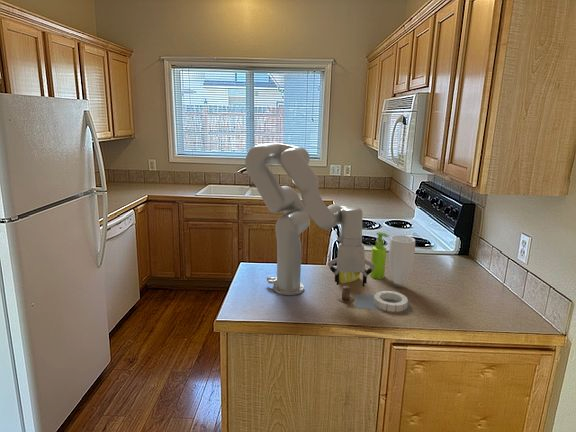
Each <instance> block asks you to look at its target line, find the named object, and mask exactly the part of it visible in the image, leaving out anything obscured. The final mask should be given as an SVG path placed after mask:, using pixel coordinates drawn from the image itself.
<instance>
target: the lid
mask: <svg viewBox="0 0 576 432" xmlns="http://www.w3.org/2000/svg"><path fill="white" fill-rule="evenodd" d="M336 300H337V301H338V302H340V303H343V304H352V303H353V302H355V299H354V297H353V296H351V286H349V285H343V286H342V288H341V295H339V296H337V299H336Z"/></svg>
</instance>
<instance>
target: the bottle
mask: <svg viewBox="0 0 576 432" xmlns="http://www.w3.org/2000/svg"><path fill="white" fill-rule="evenodd" d="M360 274H361V272H342V271H340V272H339V284H346V283H351V282H356V281H358V280H359V279H360Z"/></svg>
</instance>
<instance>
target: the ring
mask: <svg viewBox="0 0 576 432" xmlns="http://www.w3.org/2000/svg"><path fill="white" fill-rule="evenodd" d="M373 295H374V305H375V306H377V307H378V308H380V309H382V310H385V311H384V312H390V311H391V312H392V313H399V311H404V310H405V309H406V308H407V306H408V299H409V298H408V297H407V296H406V295H404V294H402V293H400V292H398V291H393V290H382V291H381V290H380V291H377V292H375V293H374V294H373ZM383 299H393V300H396V301H398V302H397V303H390V302H386V301H383ZM386 310H387V311H386ZM395 311H396V312H395ZM391 312H390V313H391Z"/></svg>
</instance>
